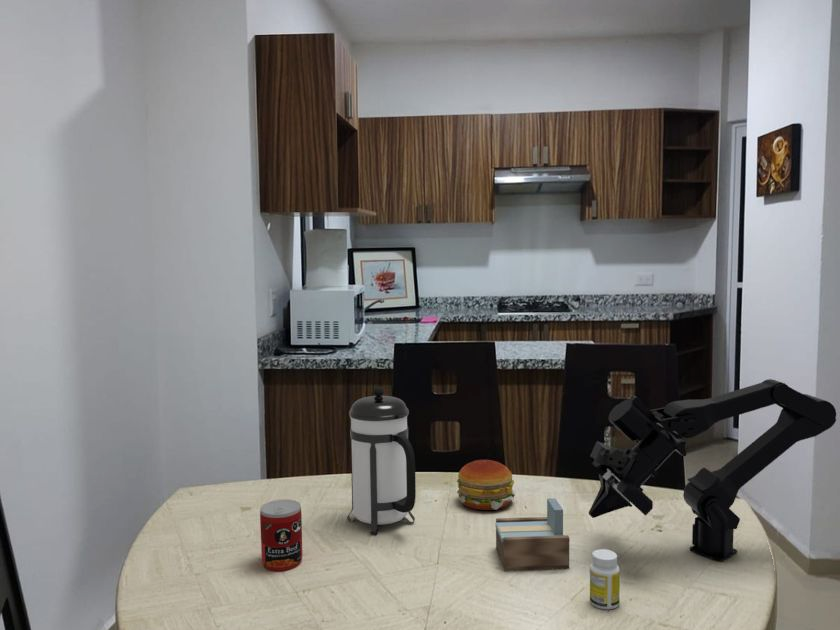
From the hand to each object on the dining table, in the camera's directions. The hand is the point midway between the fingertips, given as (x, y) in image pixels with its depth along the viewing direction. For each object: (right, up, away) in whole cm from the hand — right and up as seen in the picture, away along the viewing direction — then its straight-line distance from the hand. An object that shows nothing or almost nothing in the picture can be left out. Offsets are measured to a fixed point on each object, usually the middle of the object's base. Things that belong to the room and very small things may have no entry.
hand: (590, 515), depth 131 cm
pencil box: (-11, -8, 0) cm, 14 cm away
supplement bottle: (-2, -10, -17) cm, 19 cm away
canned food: (-59, -9, 0) cm, 59 cm away
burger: (-17, -6, +29) cm, 34 cm away
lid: (-12, -3, 0) cm, 12 cm away
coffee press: (-40, -7, +18) cm, 44 cm away
